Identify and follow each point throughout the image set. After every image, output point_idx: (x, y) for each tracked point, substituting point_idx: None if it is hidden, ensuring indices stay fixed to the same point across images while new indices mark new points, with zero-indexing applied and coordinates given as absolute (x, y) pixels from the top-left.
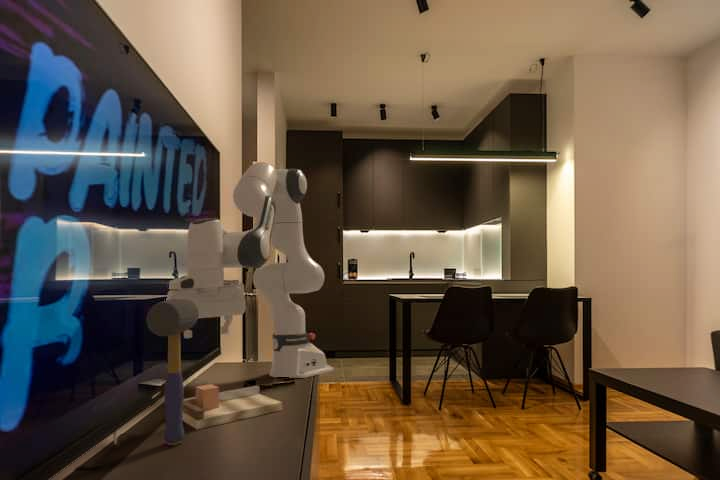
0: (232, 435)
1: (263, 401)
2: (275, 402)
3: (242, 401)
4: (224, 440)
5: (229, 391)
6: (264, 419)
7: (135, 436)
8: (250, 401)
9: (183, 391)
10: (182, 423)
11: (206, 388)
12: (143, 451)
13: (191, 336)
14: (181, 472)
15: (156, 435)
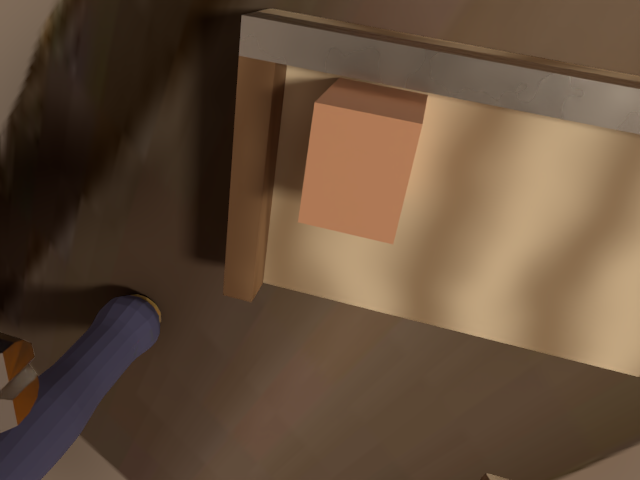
0: (296, 391)
1: (610, 296)
2: (619, 355)
3: (557, 205)
4: (257, 401)
5: (574, 105)
6: (478, 370)
7: (63, 136)
8: (578, 241)
9: (66, 450)
10: (135, 355)
11: (330, 207)
12: (61, 288)
13: (21, 408)
14: (102, 452)
15: (122, 191)
